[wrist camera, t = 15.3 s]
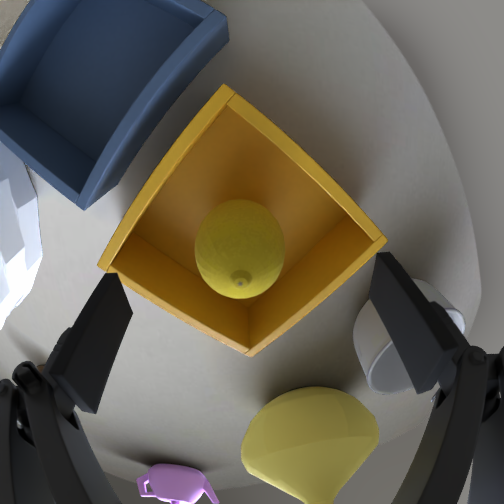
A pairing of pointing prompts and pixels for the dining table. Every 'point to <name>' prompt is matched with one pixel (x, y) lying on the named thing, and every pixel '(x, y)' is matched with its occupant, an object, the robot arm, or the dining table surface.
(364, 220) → the yellow bin
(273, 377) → the dining table surface
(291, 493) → the vase
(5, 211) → the white brick well
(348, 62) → the dining table surface
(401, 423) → the dining table surface
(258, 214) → the lemon
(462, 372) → the robot arm
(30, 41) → the blue bin
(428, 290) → the teacup
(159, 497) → the teapot
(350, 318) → the dining table surface
